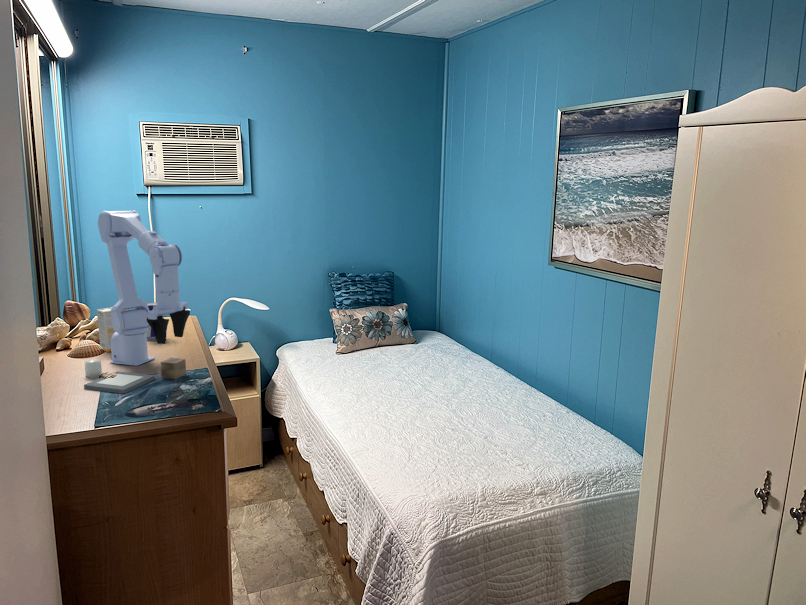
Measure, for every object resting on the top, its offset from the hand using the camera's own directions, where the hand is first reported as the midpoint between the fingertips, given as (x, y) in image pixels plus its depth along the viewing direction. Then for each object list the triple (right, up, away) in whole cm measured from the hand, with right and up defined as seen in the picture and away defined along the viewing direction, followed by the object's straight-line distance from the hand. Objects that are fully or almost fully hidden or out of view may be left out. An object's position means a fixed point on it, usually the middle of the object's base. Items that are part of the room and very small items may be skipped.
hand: (170, 340), depth 162 cm
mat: (-11, -11, -5) cm, 16 cm away
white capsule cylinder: (-22, -10, +2) cm, 24 cm away
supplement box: (-28, -5, +28) cm, 40 cm away
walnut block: (0, -10, +2) cm, 10 cm away
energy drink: (-22, -2, +40) cm, 46 cm away
